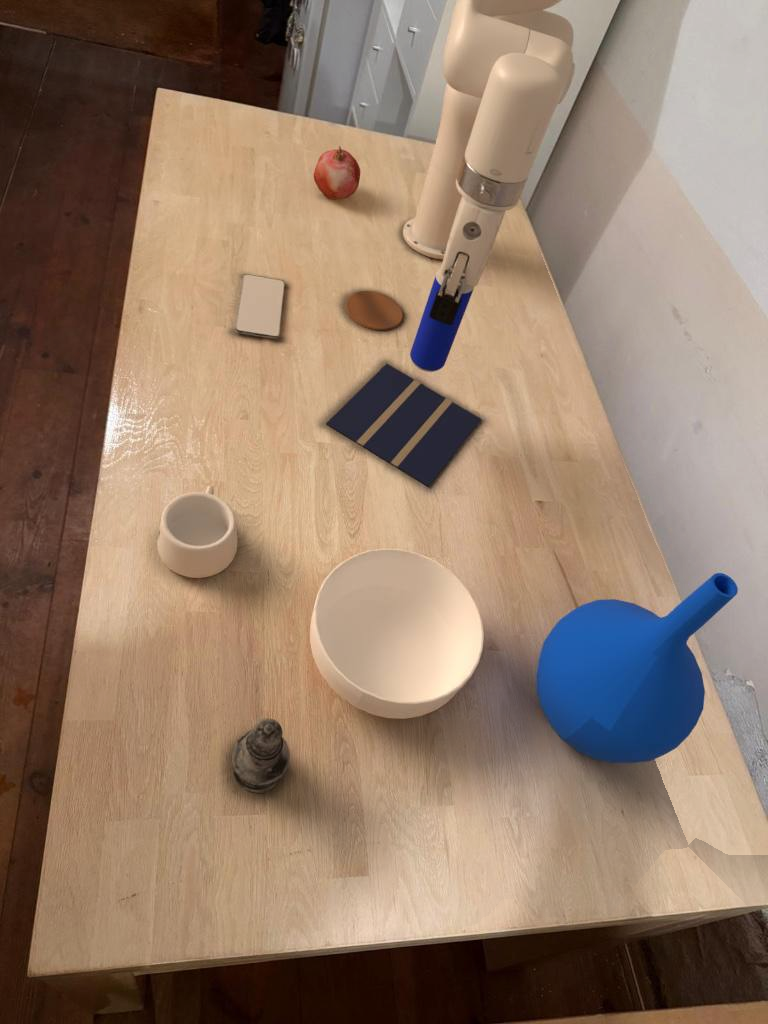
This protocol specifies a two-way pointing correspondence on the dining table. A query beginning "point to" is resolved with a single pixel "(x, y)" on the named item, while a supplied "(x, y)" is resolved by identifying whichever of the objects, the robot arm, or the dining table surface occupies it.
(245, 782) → the dark stone chess piece
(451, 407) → the plate
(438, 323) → the beverage can
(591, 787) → the dining table surface
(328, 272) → the dining table surface
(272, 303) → the smartphone
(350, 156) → the fruit
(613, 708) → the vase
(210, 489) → the mug
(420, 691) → the bowl
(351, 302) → the coaster
